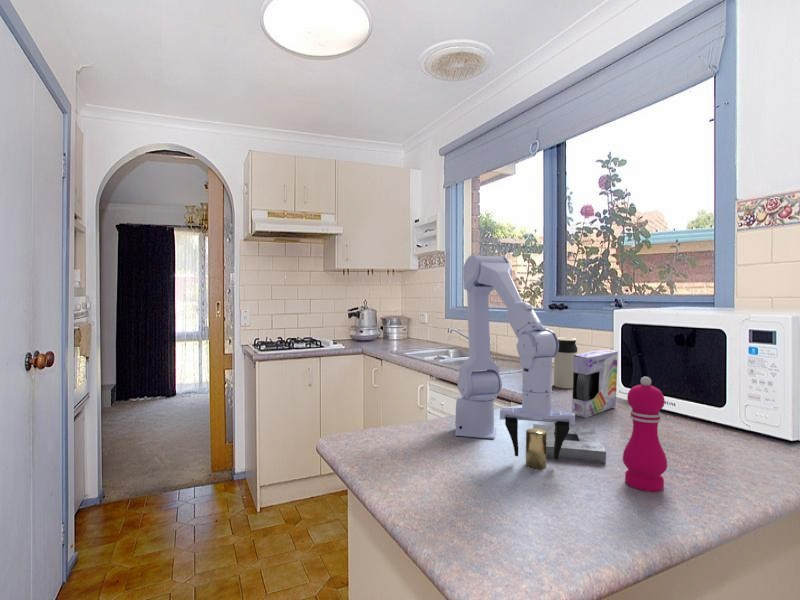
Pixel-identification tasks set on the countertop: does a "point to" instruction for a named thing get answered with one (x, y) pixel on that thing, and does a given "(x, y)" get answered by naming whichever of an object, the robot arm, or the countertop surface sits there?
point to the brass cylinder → (536, 448)
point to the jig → (575, 445)
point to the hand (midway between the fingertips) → (536, 456)
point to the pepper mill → (645, 439)
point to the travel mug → (564, 363)
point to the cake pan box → (594, 382)
